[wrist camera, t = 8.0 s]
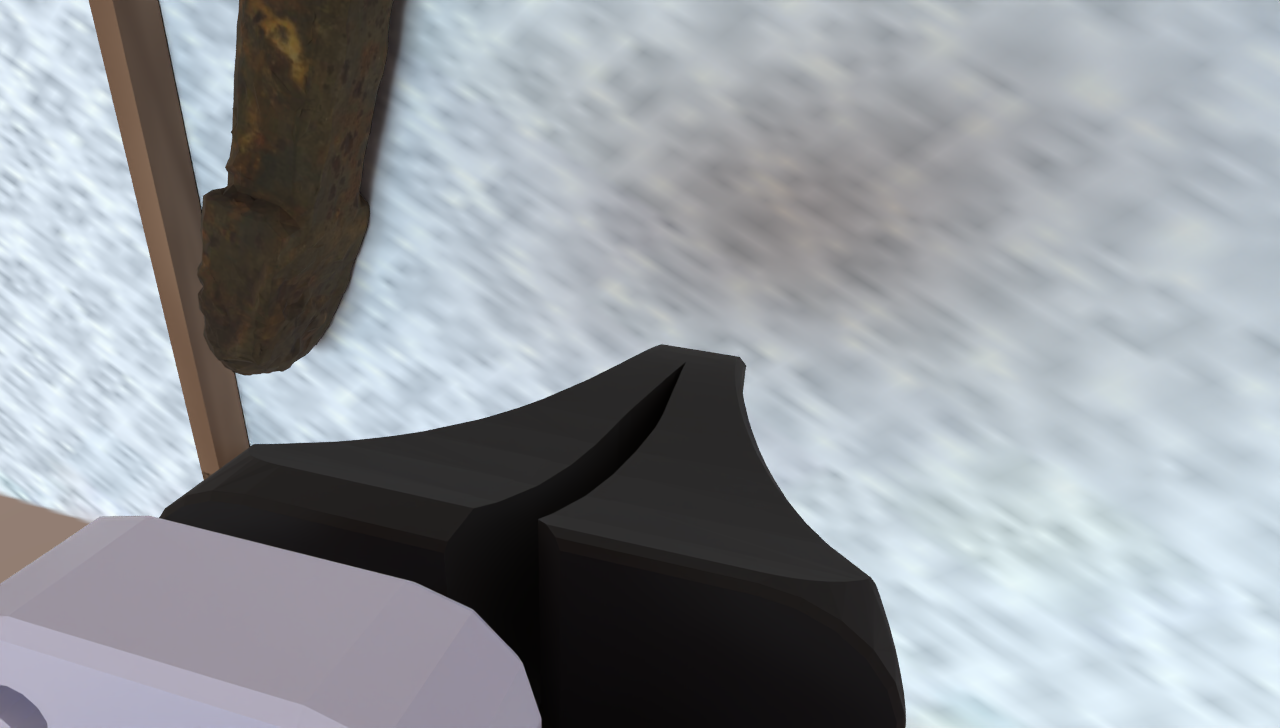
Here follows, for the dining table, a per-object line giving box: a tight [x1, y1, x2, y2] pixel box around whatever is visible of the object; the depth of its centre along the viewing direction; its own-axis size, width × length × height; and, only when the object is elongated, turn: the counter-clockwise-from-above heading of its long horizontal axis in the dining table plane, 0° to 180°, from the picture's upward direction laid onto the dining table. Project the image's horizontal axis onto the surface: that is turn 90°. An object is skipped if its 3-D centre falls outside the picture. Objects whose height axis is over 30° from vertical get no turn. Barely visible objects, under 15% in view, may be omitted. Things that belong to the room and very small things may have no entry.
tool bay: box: [89, 0, 249, 480], centre depth 22 cm, size 10×27×2 cm, turn 178°
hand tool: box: [197, 0, 393, 375], centre depth 20 cm, size 19×4×5 cm, turn 159°
